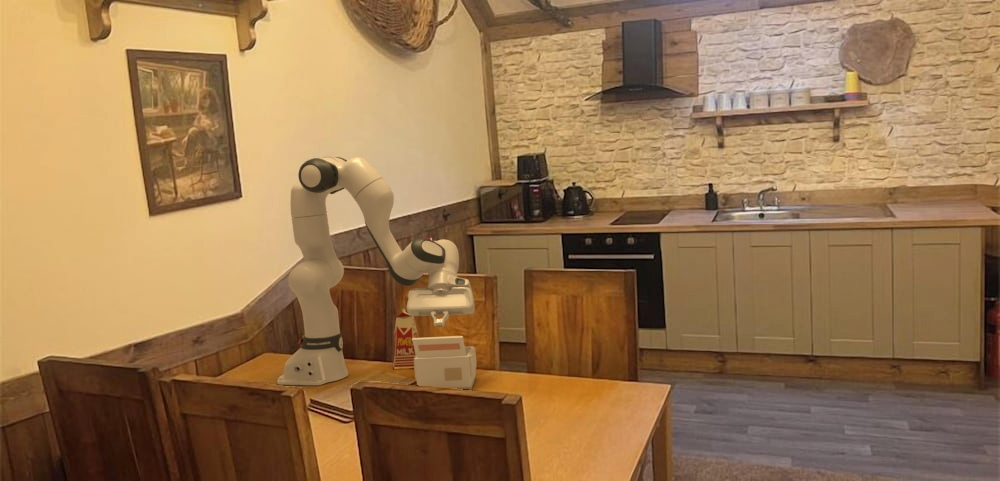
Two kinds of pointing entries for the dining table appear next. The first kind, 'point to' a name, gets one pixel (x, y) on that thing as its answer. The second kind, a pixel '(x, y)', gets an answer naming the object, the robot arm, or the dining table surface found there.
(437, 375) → the carton
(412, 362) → the milk carton
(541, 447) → the dining table surface
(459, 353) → the flap
